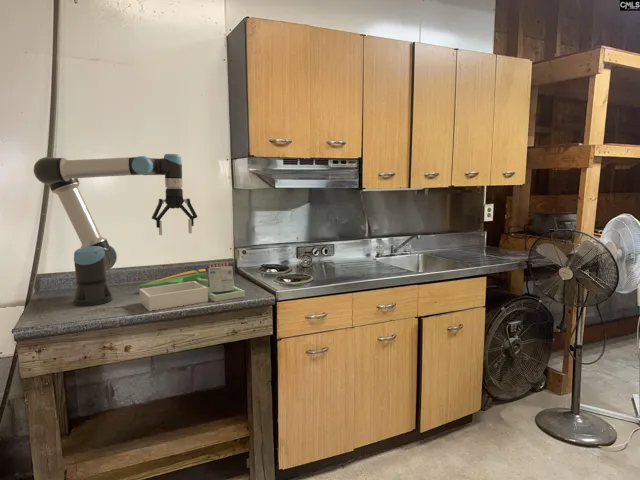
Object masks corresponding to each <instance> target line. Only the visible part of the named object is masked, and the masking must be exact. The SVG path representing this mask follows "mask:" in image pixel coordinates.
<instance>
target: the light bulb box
mask: <svg viewBox="0 0 640 480" xmlns="http://www.w3.org/2000/svg"><path fill="white" fill-rule="evenodd" d="M233 270H234V269H233V266H232V265H231V266H229V265H228V267H226V266H225V267H223V266H222V267H219V266H218V267H216V266H215V267H213V268H212V267H211V268H209V267H208V272H207V273H208V278H209V281H208V287H209V286H210V292H217V291H229V290H234V286H235V282H234V271H233Z"/></svg>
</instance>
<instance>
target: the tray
mask: <svg viewBox="0 0 640 480" xmlns="http://www.w3.org/2000/svg"><path fill="white" fill-rule="evenodd" d="M206 287H207V286H206ZM207 289H208V300H211V301H213V302H221V301H227V300H231V299H233V300H234V299H238V298H244V297H246V291H245V290H244V289H241V288H239V287H237V286H235V285H234V290H229V291H217V292H210V287H209V286H208V287H207Z"/></svg>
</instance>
